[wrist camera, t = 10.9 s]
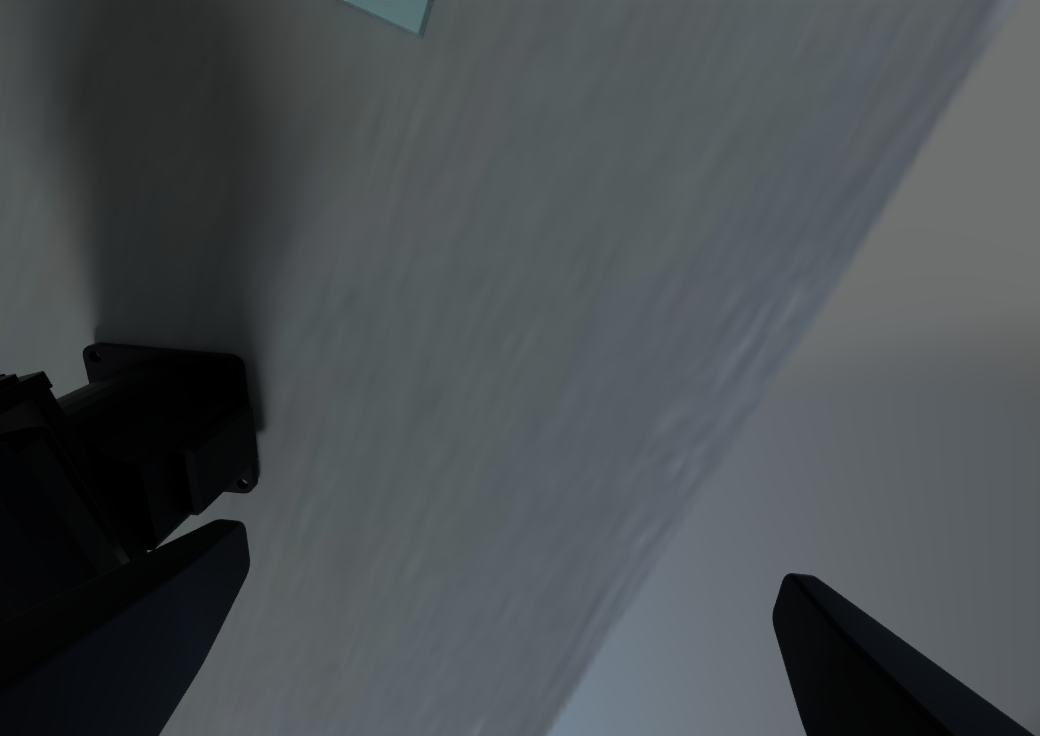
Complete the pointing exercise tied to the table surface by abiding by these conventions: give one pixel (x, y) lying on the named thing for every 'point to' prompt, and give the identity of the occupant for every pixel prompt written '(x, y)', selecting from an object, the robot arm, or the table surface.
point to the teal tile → (397, 12)
